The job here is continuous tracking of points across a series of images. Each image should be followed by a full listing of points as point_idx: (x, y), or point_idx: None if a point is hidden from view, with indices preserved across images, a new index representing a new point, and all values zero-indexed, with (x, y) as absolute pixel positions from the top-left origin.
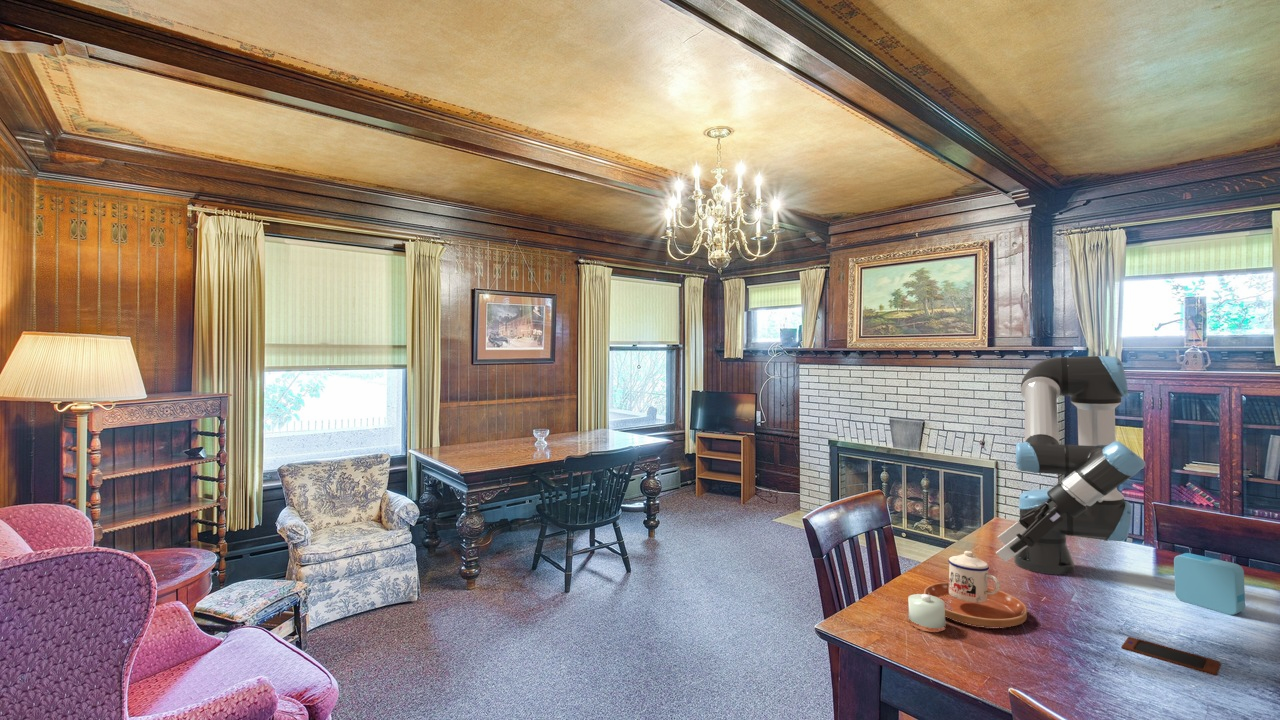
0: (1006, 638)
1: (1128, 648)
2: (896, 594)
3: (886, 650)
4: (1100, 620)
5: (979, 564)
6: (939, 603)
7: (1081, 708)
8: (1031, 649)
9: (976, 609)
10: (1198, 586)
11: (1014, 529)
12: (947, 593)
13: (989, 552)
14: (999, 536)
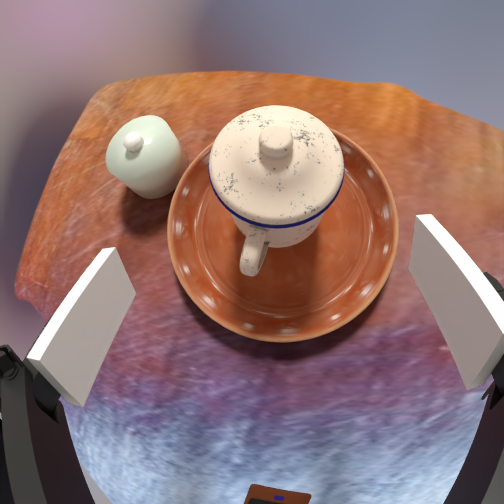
0: (170, 305)
1: (249, 492)
2: (278, 91)
3: (64, 160)
4: (382, 456)
5: (243, 195)
6: (130, 168)
7: None
8: (148, 348)
9: None
10: None
11: (464, 306)
12: None
13: None
14: (422, 223)
